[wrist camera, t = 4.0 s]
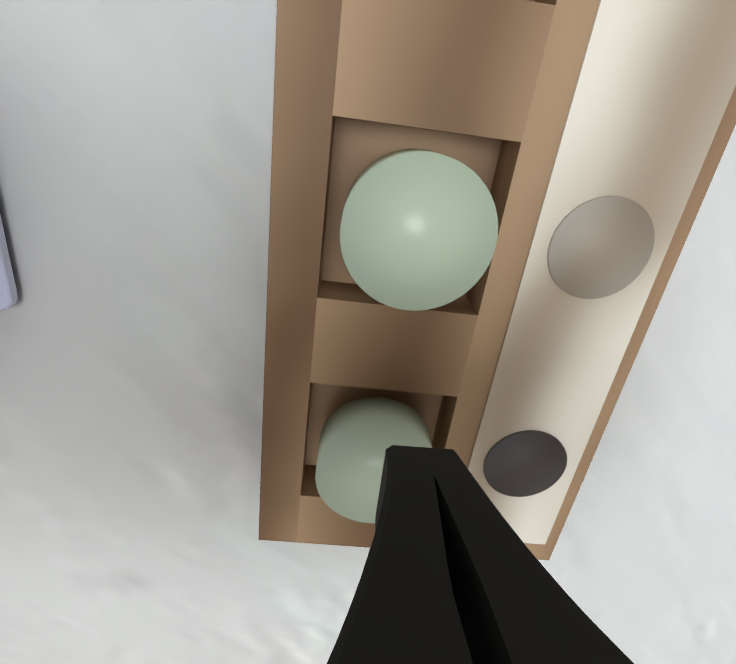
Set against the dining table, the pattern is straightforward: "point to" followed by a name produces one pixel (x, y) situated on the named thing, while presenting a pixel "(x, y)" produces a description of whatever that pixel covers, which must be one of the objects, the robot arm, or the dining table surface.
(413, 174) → the button middle
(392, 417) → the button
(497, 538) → the robot arm
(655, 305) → the board
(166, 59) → the dining table surface
